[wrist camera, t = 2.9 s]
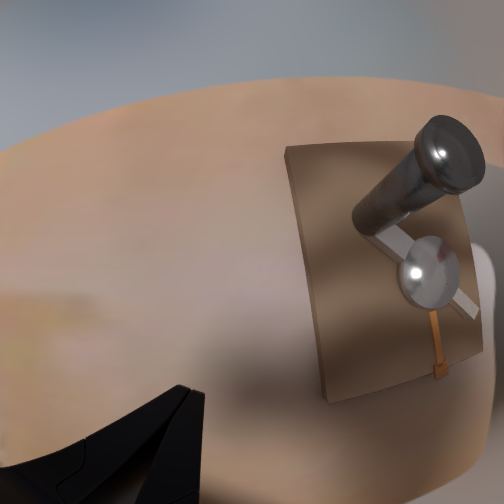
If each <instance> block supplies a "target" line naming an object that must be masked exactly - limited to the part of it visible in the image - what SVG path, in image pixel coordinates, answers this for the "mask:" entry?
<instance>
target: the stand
mask: <svg viewBox="0 0 504 504" xmlns="http://www.w3.org/2000/svg"><path fill="white" fill-rule="evenodd" d="M413 148H414V141H375V142H344V143H326V144H311V145H298V146H287V147H286V149H285V154H284V158H285V163H286V168H287V173H288V178H289V183H290V188H291V193H292V198H293V203H294V208H295V214H296V219H297V225H298V230H299V236H300V241H301V247H302V253H303V259H304V265H305V271H306V277H307V283H308V290H309V296H310V303H311V310H312V316H313V323H314V330H315V338H316V345H317V353H318V361H319V369H320V377H321V386H322V395H323V399H324V400H325V401H326V402H327V404H330V403H335V402H339V401H343V400H347V399H351V398H355V397H358V396H362V395H366V394H369V393H373V392H376V391H380V390H383V389H386V388H389V387H393V386H396V385H399V384H402V383H405V382H408V381H411V380H414V379H416V378H419V377H422V376H425V375H427V374H430V373H433V372H434V376H435V380H437V379H439V378H441V377H443V376H445V375H447V374H448V368H447V367H448V366H450V365H453V364H455V363H457V362H460V361H462V360H464V359H467V358H469V357H471V356H473V355H475V354H478V353H480V352H482V351H483V340H482V323H481V311H480V302H479V293H478V285H477V278H476V272H475V266H474V260H473V254H472V249H471V244H470V239H469V235H468V231H467V226H466V222H465V218H464V214H463V210H462V206H461V203H460V199H459V195H449V194H446V195H444V196H443V197H441V198H439V199H438V200H436V201H434V202H433V203H431V204H429V205H428V206H426V207H424V208H423V209H421V210H419V211H417V212H416V213H414V214H412V215H411V216H409V217H407V218H406V219H404V220H402V221H400V222H399V223H397V224H395V225H397V226H398V227H399V228H400V229H401V230H403V231H404V232H405V233H406V234H407V235H409V236H410V237H411V238H412V239H413V240H414V241H415V240H417V239H420V238H422V237H425V236H436V237H439V238H442V239H443V240H445V241H446V242H447V243H448V244H449V245H450V246H451V247H452V249H453V250H454V252H455V254H456V256H457V259H458V262H459V266H460V281H459V286H458V288H459V289H460V290H462V291H463V292H464V293H465V294H466V295H467V296H468V297H469V298H470V299H471V300H472V301H473V302H474V303H475V304H476V305H477V306H478V307H479V311H478V313H477V315H476V317H475V320H466V319H465V318H464V317H463V316H462V315H461V314H460V313H459V312H458V311H457V310H456V309H455V308H454V307H453V306H452V305H450V304H449V303H447V304H446V305H445V306H443V307H440V308H436V309H421V308H417V307H415V306H413V305H411V304H410V303H409V302H408V301H407V300H406V299H405V298H404V296H403V295H402V293H401V291H400V289H399V286H398V282H397V262H395V261H394V260H393V259H392V258H390V257H389V256H388V255H387V254H386V253H384V252H383V251H382V250H381V249H379V248H378V247H377V246H376V245H374V244H373V243H372V242H371V241H369V240H368V239H367V238H365V237H364V236H363V235H362V234H360V233H359V232H358V231H357V230H356V228H355V227H354V225H353V222H352V211H353V208H354V207H355V205H356V204H357V203H359V202H360V201H361V200H362V199H363V198H364V197H365V196H366V195H367V194H368V193H369V192H370V191H371V190H372V189H373V188H374V187H375V186H376V185H377V184H378V183H379V182H380V181H381V180H382V179H383V178H384V177H385V176H386V175H387V174H388V173H389V172H390V171H391V170H392V169H393V168H394V167H395V166H396V165H397V164H398V163H399V162H400V161H401V160H402V159H403V158H404V157H405V156H406V155H407V154H408V153H409V152H410V151H411V150H412V149H413Z"/></svg>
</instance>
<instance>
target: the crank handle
mask: <svg viewBox="0 0 504 504" xmlns="http://www.w3.org/2000/svg"><path fill="white" fill-rule="evenodd" d="M484 174H485V159H484V155H483V152H482V149H481V147H480V145H479V143H478V141H477V140H476V138H475V137H474V135H473V134H472V133H471V132H470V130H469V129H468V128H467V127H466V126H464V125H463V124H462V123H461V122H459V121H458V120H456V119H454V118H452V117H449V116H445V115H438V116H435V117H433V118H431V119H430V120H429V122H428V123H427V124H426V125H425V126H424V127H423V128H422V129H421V130H420V131H419V132H418V134H417V135H416V138H415V141H414V148H413V149H412V150H411V151H410V152H409V153H408V154H407V155H406V156H405V157H404V158H403V159H402V160H401V161H400V162H399V163H398V164H397V165H396V166H395V167H394V168H393V169H392V170H391V171H390V172H389V173H388V174H387V175H386V176H385V177H384V178H383V179H382V180H381V181H380V182H379V183H378V184H377V185H376V186H375V187H374V188H373V189H372V190H371V191H370V192H369V193H368V194H367V195H366V196H365V197H364V198H363V199H362V200H361V201H360V202H359V203H357V204H356V205H355V207H354V208H353V211H352V222H353V225H354V227H355V228H356V230H357V231H358V232H359V233H360V234H362V235H363V236H364V237H365V238H367V239H368V240H369V241H371V242H372V243H373V244H374V245H376V246H377V247H378V248H379V249H381V250H382V251H383V252H384V253H386V254H387V255H388V256H389V257H390V258H392V259H393V260H394V261H395V262H397V282H398V286H399V289H400V291H401V293H402V295H403V296H404V298H405V299H406V300H407V301H408V302H409V303H410V304H411V305H413V306H415V307H417V308H421V309H436V308H440V307H443V306H445V305H446V304H447V303H449V304H450V305H452V306H453V307H454V308H455V309H456V310H457V311H458V312H459V313H460V314H461V315H462V316H463V317H464V318H465V319H466V320H475V317H476V315H477V313H478V311H479V307H478V306H477V305H476V304H475V303H474V302H473V301H472V300H471V299H470V298H469V297H468V296H467V295H466V294H465V293H464V292H463V291H462V290H460V289H459V288H458V286H459V281H460V266H459V262H458V259H457V256H456V254H455V252H454V250H453V249H452V247H451V246H450V245H449V244H448V243H447V242H446V241H445V240H443V239H442V238H439V237H436V236H425V237H422V238H420V239H417V240H415V241H414V240H413V239H412V238H411V237H410V236H409V235H407V234H406V233H405V232H404V231H403V230H401V229H400V228H399V227H398V226H397V225H395V224H397V223H399V222H400V221H402V220H404V219H406V218H407V217H409V216H411V215H412V214H414V213H416V212H417V211H419V210H421V209H423V208H424V207H426V206H428V205H429V204H431V203H433V202H434V201H436V200H438V199H439V198H441V197H443V196H444V195H446V194H449V195H459V194H462V193H464V192H465V191H467V190H469V189H471V188H472V187H474V186H476V185H477V184H479V183H480V182H481V181H482V179H483V177H484Z"/></svg>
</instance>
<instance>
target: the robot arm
mask: <svg viewBox="0 0 504 504" xmlns="http://www.w3.org/2000/svg"><path fill="white" fill-rule="evenodd" d="M204 403H205V394H204V393H203V392H200V391H197V390H191V389H190V388H188V387H186V386H183V385H176V386H174V387H173V388H171V389H169V390H168V391H166V392H164V393H163V394H161V395H159V396H158V397H156V398H155V399H153V400H151V401H150V402H148V403H146V404H144V405H143V406H141V407H139V408H138V409H136V410H134V411H133V412H131V413H129V414H127V415H126V416H124V417H122V418H120V419H119V420H117V421H115V422H113V423H111V424H110V425H108V426H106V427H104V428H102V429H101V430H99V431H97V432H95V433H93V434H91V435H89V436H88V437H86V438H85V439H82V440H80V441H78V442H76V443H74V444H72V445H70V446H68V447H66V448H63V449H61V450H59V451H56V452H54V453H51V454H48V455H45V456H42V457H39V458H36V459H33V460H30V461H27V462H23V463H20V464H17V465H13V466H9V467H0V504H199V497H200V493H199V491H200V470H201V451H202V433H203V418H204Z"/></svg>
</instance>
